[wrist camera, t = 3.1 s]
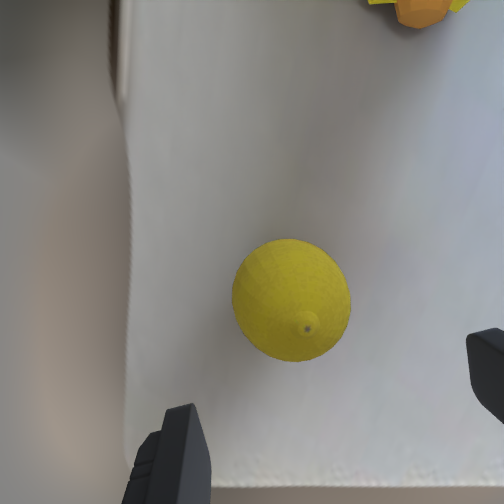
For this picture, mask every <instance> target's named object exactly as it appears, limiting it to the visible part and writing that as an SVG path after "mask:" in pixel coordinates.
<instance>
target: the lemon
mask: <svg viewBox="0 0 504 504" xmlns="http://www.w3.org/2000/svg"><path fill="white" fill-rule="evenodd" d="M232 305H233V309H234V313H235V317H236V320H237V322H238V324H239V326H240V328H241V330H242V331H243V333H244V335H245V336H246V337H247V338H248V339H249V340H250V342H251V343H252V344H253V345H254V346H255V347H256V348H257V349H259V350H260V351H262V352H263V353H265V354H267V355H268V356H270V357H273V358H276V359H279V360H282V361H289V362H301V361H307V360H311V359H314V358H316V357H318V356H321V355H323V354H324V353H325V352H327V351H328V350H330V349H331V348H332V347H333V346H334V345H335V344H336V343H337V342H338V341H339V339H340V338H341V337H342V335H343V333H344V331H345V329H346V327H347V325H348V320H349V316H350V311H351V304H350V292H349V289H348V286H347V282H346V279H345V277H344V275H343V273H342V272H341V270H340V268H339V267H338V265H337V264H336V262H335V261H334V260H333V259H332V258H331V257H330V256H329V255H328V254H327V253H325V252H324V251H323V250H322V249H320V248H318V247H316V246H314V245H312V244H310V243H309V242H305V241H300V240H296V239H278V240H275V241H271V242H268V243H265V244H263V245H262V246H260V247H258V248H257V249H255V250H254V251H253V252H252V253H251V254H249V255H248V256H247V257H246V258H245V259H244V261H243V263H242V264H241V266H240V267H239V269H238V271H237V273H236V277H235V280H234V283H233V288H232Z"/></svg>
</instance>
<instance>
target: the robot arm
mask: <svg viewBox="0 0 504 504" xmlns="http://www.w3.org/2000/svg"><path fill="white" fill-rule="evenodd" d="M466 346H467V355H468V363H469V372H470V380H471V385H472V389H473V391H474V393H475V395H476V397H477V399H478V400H479V402H480V403H481V404H482V405H483V406H484V407H485V408H486V409H487V410H489V411H490V412H491V413H492V414H493V415H494V416H495V417H496V418H497V419H499V420H500V421H501V422H502V423H503V424H504V331H502V330H501V329H498V328H491V329H487V330H484V331H480V332H476V333H472V334H469V335H468V336H467V338H466ZM210 495H211V461H210V455H209V450H208V447H207V443H206V440H205V437H204V433H203V430H202V427H201V423H200V420H199V417H198V413H197V410H196V407H195V405H194V404H193V403H191V404H187V405H183V406H179V407H175V408H171V409H167V410H166V413H165V417H164V421H163V425H162V429H161V430H160V431H156V432H152V433H150V434H149V436H148V437H147V438H146V440H145V441H144V442H143V444H142V445H141V446H140V448H139V450H138V453H137V456H136V459H135V462H134V467H133V469H132V472H131V475H130V481H129V482H128V484H127V488H126V491H125V494H124V497H123V500H122V504H210Z"/></svg>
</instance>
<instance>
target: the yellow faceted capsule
mask: <svg viewBox="0 0 504 504" xmlns="http://www.w3.org/2000/svg"><path fill="white" fill-rule="evenodd" d="M469 1H470V0H368V2H369V4H381V3H394V5H395V9H396V13H397V17H398V21H399V22H400V23H401V24H403V25H405V26H408V27H413V28H418V29H421V28H424V27H427V26H430V25H432V24H435V23H437V22H440V21H442V20H443V18H444V17H445V15H446V13H447V11H448V9H449V10H451V11H453V12H455V13H457V12H458V11H459V10H460V9H461V8H462V7H463V6H464V5H465V4H466V3H468V2H469Z"/></svg>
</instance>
